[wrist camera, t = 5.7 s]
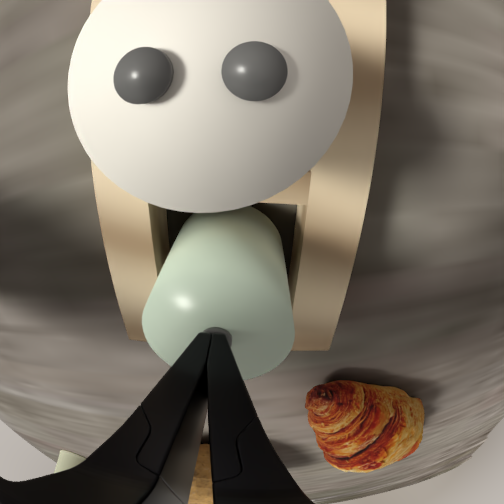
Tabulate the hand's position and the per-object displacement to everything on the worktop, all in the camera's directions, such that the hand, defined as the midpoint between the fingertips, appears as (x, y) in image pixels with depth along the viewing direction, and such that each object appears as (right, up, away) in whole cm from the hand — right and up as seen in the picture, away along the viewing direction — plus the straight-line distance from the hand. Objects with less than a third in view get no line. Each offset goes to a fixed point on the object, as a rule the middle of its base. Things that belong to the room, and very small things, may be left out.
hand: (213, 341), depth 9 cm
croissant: (+12, -12, +15) cm, 23 cm away
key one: (0, +3, +5) cm, 6 cm away
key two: (0, +8, 0) cm, 8 cm away
